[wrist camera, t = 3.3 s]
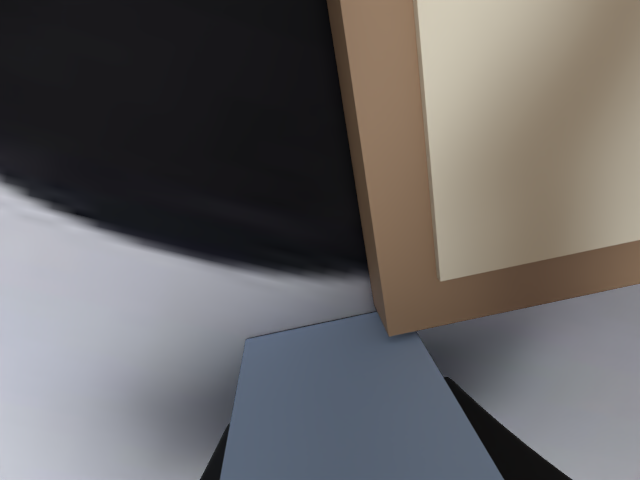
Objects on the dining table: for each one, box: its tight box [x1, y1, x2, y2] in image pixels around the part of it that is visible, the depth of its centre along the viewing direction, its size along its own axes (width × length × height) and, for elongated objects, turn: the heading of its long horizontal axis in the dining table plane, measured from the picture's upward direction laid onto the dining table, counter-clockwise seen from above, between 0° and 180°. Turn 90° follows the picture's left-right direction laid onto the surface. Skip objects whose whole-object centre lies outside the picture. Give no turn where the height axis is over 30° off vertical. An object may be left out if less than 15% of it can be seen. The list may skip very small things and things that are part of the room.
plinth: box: [327, 0, 640, 337], centre depth 8 cm, size 9×9×2 cm
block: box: [220, 312, 504, 480], centre depth 8 cm, size 4×4×6 cm
